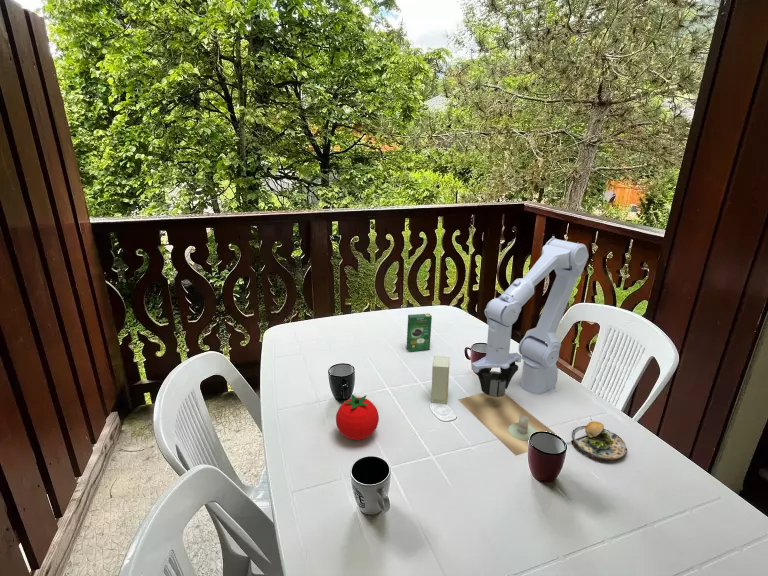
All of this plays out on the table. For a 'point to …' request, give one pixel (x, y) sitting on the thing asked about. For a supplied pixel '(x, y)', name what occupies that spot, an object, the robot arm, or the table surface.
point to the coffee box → (418, 332)
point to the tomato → (357, 418)
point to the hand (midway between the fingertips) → (494, 389)
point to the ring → (497, 384)
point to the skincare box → (440, 380)
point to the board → (505, 420)
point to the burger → (598, 443)
